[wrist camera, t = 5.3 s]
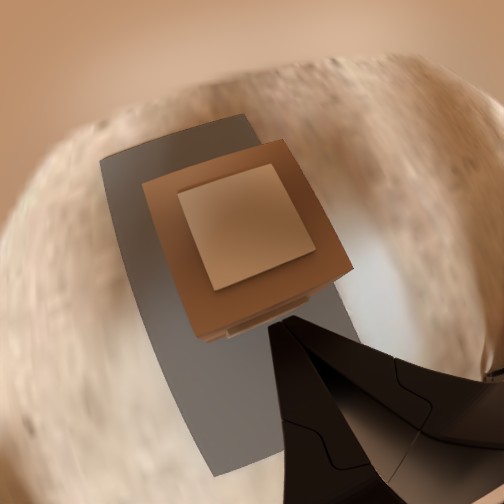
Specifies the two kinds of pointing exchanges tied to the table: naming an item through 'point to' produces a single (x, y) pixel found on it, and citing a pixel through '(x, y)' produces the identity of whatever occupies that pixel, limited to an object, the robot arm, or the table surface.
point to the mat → (176, 320)
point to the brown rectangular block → (244, 239)
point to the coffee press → (495, 376)
